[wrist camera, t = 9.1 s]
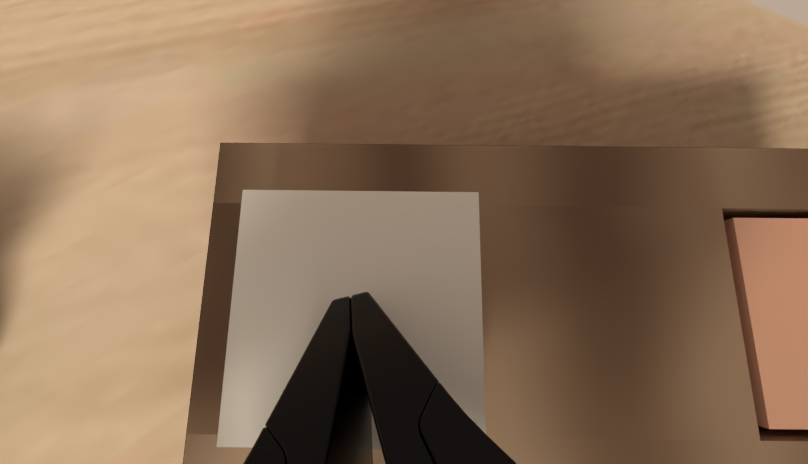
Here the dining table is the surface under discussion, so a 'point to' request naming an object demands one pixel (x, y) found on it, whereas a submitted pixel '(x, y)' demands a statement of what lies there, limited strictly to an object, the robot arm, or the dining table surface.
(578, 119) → the dining table surface
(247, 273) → the white box
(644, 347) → the brown striped box
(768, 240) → the salmon pink block
